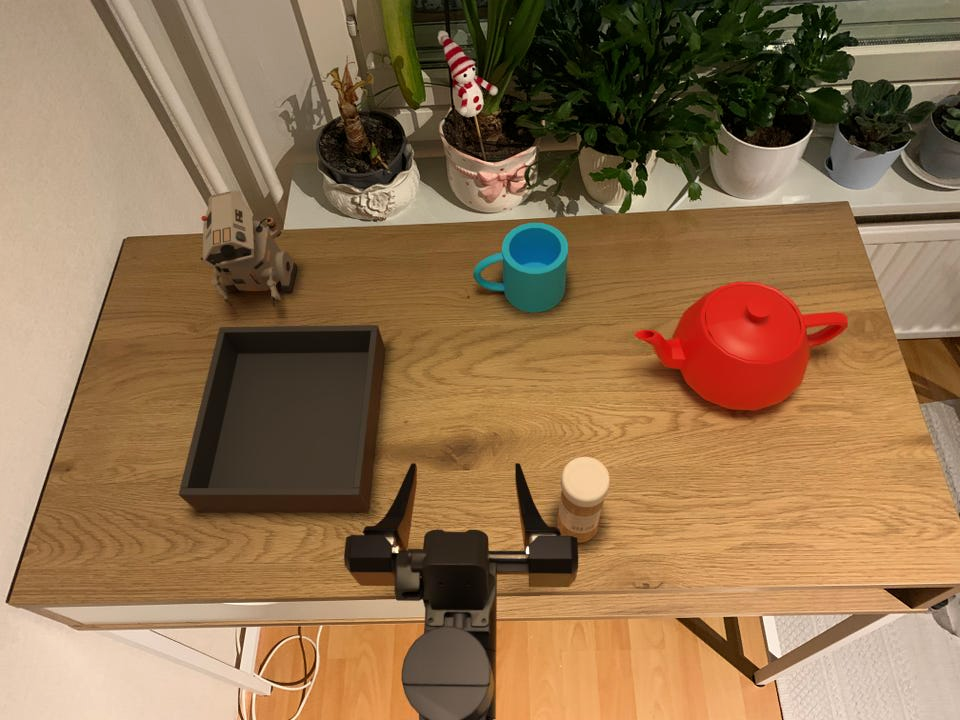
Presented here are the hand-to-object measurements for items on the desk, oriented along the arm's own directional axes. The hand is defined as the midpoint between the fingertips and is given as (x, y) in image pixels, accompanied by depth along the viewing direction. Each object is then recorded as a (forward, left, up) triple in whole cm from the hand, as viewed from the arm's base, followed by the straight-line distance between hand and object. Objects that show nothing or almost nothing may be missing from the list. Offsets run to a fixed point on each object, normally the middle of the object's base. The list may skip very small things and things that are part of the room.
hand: (465, 464), depth 64 cm
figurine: (+33, +30, -18) cm, 48 cm away
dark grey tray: (+13, +22, -18) cm, 31 cm away
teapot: (+21, -30, -18) cm, 41 cm away
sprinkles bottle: (+1, -11, -18) cm, 21 cm away
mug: (+33, -5, -18) cm, 38 cm away
